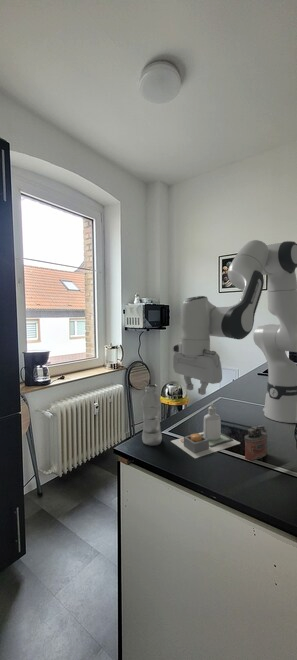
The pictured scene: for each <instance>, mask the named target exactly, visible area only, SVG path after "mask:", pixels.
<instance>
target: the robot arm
mask: <svg viewBox="0 0 297 660" xmlns="http://www.w3.org/2000/svg"><path fill="white" fill-rule="evenodd" d="M296 269H297V242H296V241H291V240H290V241H289V240H287V241H283V242H278V243H273V244H266V243H265V242H263V241H262V240H258V239H254V240H250V241H248V242H247V243H245V245H243V247H241V248H240V250H239V251H238V252H237V254H236V255H235V256H234V258H233V259H232V261H231V263H230V265H229V267H228V269H227V278H228V280H229V282H230V284H231V285H233V286H234V287H235V288H237V289H239V290H241V291H242V292H241V295H240V298H239V301H238V303H236V304H234V305H232V306H231V305H230V306H216V305H214V304H213V303H211V302H210V301H209V299H208V297H207V296H204V295H199V296H198V295H197V296H193V297H188V298H186V299H184V300H183V303H182V305H181V316H180V325H181V329H182V334H181V337H180V339H181V340H180V342H178V343H175V344H174V345H172V348H171V349H172V352H173V354H172V369H173V371H174V373H176V374H178V375H182V376H183V380H184V383H185V384H186V388H185V389H186V390H187V391H193V390H194V384H193V382H192V380H191V379H194V380H197V381H199V383H200V384H201V385H200V387H199V388H198V389H197V391H198V392H197V393H198V395H201V396H203V395H206V393H207V391H206V390H207V387H208V386H209V384H211V385H215V384H220V383H221V382H222V380H223V370H222V363H221V360H220V359H221V357H220V355H219V354H218V353H217V351H215V350H211V338H210V337H218V338H228V339H234V340H243V339H245V338H246V337H247V336H249V334H250V333H251V332H252V330H253V327H254V322H255V316H256V312H257V308H258V305H259V303H260V299H261V295H262V293H263V288H264V284H265V283H264V282H265V279H264V276H266V275H267V277H268V279H267V309H268V311H269V313H270V314H272V315H273V316H275V317H276V318H277V319H278V320H279V323H280V324H276V323H275V324H273V323H272V324H270V323H269V324H264V325H260V326H257V328H255V330H254V332H253V342H254V344H255V345H256V346H257V347H258V348H259V349H260V350H261V352H262V354H263V355H264V357H265V359H266V363H267V372H268V375H267V378H268V382H267V385H266V389H267V390H266V391H267V392H266V394H265V401H264V407H263V408H262V412H263V414H264V416H265V417H266V418H268V419H269V420H272V421H276V422H280V423H286V424H287V423H289V424H294V423H295V424H297V364H296V363H295V362H294V361H293V360H292V359H290V358H289V357H288V355H287V353H286V352H289V353H291V352H292V353H293V352H294V353H297V273H296Z"/></svg>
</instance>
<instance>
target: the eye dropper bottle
mask: <svg viewBox="0 0 297 660" xmlns="http://www.w3.org/2000/svg"><path fill="white" fill-rule="evenodd" d="M221 421H222V419H221V416H220V415H219V414H217V409H216V407H215V406H214V403H210V406H209V407H208V411H207V414H205V415H204V416H203V432H204V437H205V438H207V439H208V440H218V439H220V438H221V433H222V432H221V431H222V430H221V428H222V425H221V424H222V422H221Z"/></svg>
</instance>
